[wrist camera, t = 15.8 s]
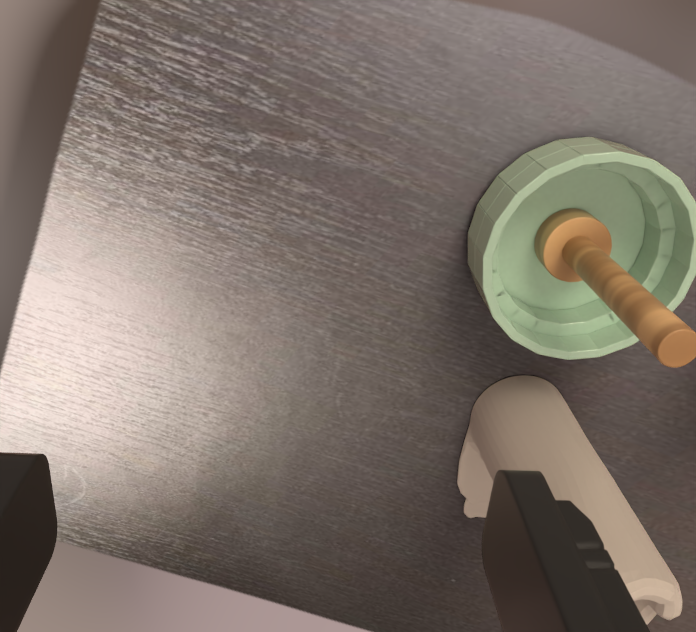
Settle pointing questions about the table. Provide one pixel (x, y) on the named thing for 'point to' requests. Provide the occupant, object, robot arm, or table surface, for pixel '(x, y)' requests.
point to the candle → (561, 479)
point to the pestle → (611, 283)
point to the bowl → (605, 205)
